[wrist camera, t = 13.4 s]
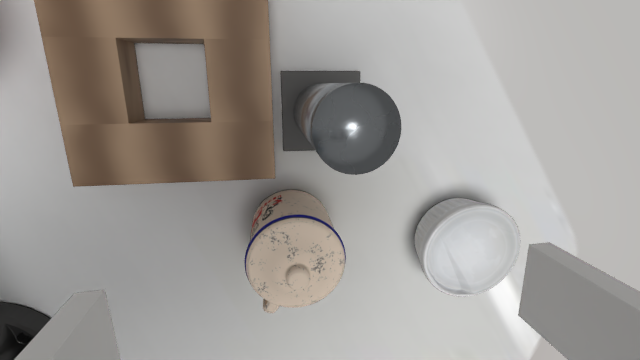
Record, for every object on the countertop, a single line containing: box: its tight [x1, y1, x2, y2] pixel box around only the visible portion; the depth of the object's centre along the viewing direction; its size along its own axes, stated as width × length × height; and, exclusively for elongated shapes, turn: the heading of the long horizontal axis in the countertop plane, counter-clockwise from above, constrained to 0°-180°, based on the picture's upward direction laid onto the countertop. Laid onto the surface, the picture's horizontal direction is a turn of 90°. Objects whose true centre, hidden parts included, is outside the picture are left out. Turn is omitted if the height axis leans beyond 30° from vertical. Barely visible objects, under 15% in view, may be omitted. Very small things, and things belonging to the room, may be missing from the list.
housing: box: [34, 0, 275, 187], centre depth 31 cm, size 18×18×4 cm
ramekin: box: [414, 198, 521, 297], centre depth 40 cm, size 11×11×5 cm
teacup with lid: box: [245, 190, 346, 313], centre depth 34 cm, size 12×9×12 cm
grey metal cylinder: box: [294, 83, 401, 175], centre depth 28 cm, size 6×6×15 cm
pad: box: [281, 71, 360, 151], centre depth 36 cm, size 8×8×1 cm
